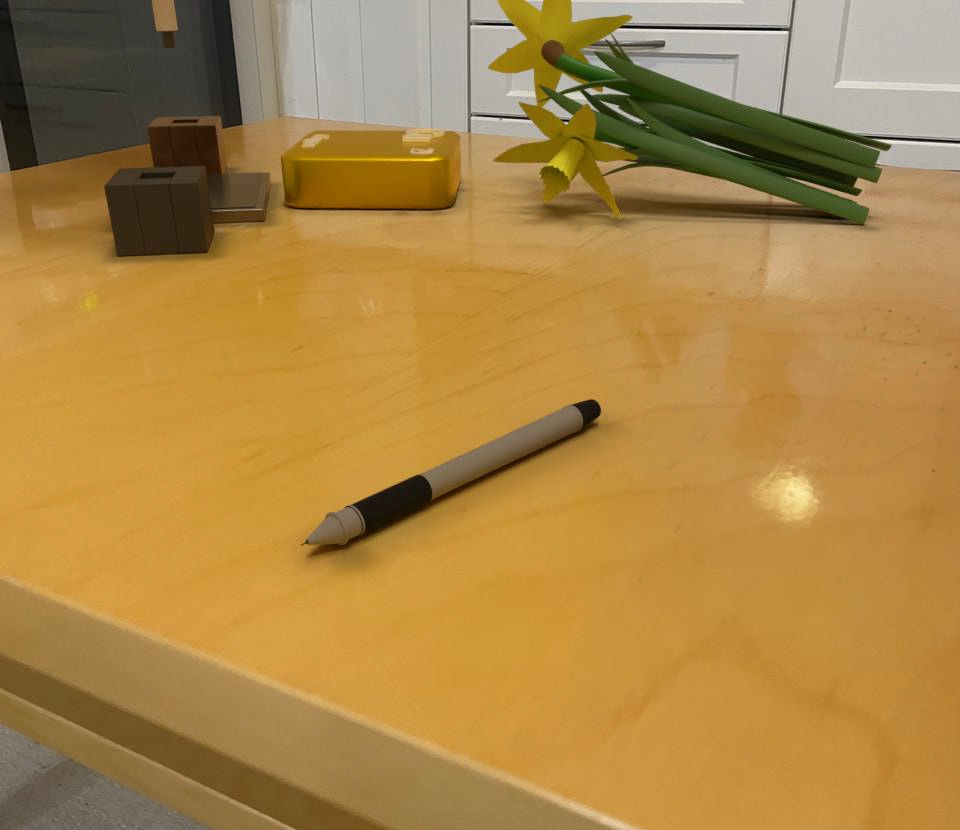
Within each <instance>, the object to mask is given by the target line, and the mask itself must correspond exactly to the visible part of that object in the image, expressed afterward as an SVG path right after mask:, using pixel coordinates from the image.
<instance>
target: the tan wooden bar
mask: <svg viewBox="0 0 960 830" xmlns="http://www.w3.org/2000/svg"><path fill="white" fill-rule="evenodd" d="M151 5H152V11H153V12H152V13H153V19H154V24H155V30H156V31H157V32H161V39H162V45H163V48H164V49H174V48H175V49H176V48H177V47H176V40H175V33H174V32H176V31H179V30H178V29H179V28H178V21H177V20H178V19H177V13H176V7H175V1H174V0H151Z"/></svg>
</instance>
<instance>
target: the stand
mask: <svg viewBox="0 0 960 830" xmlns="http://www.w3.org/2000/svg"><path fill="white" fill-rule="evenodd" d="M146 130H147V135H148V142H149V149H150V152H151V159H152V166H153V167H188V166H205V167H206V172H207V174H226V170H227V168H228V165H227V164H228V162H227V155H226V147H225V139H224V132H223V123H222V117H221V115H206V116H205V115H204V116H196V115H195V116H162V117H161V116H160V117H159V116H158V117H155V118H154V119H153V120H152V121H151V122H150V124H148V126H147V127H146Z"/></svg>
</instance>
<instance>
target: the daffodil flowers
mask: <svg viewBox="0 0 960 830" xmlns="http://www.w3.org/2000/svg"><path fill="white" fill-rule="evenodd" d="M497 3H498V5H499V6H500V9H501V10H502V11H503V13H504V15H505V16H506V18H507V19H508V20H509V21H510V22H511V24H513V26H514V27H515V28H517V30H519V31H520V33H521V34H522V35H523V36H524V37H525V38H526V39H525V40H522V41H520V42H519V43H517V44H516V45H514V46H512V47H511V48H509V49H508V50H507V51H505V52H504V53H502V54H501V55H498V57H497V58H496V59H495V60H493V61H492V62H491V63H490V64H489V65H488V66H487V69H488V70H490V71H494V72H498V73H502V74H520V73H523V72H526V71H530V70H533V84H534V94H535V99H536V105H535V104H529V103H525V102H522V101H518V105H519V107H520V108H521V110H522V111H523V112H524V114H525V115H526V117H528V118H529V119H530V121H531V122H532V123H533V124H534V125H535V127H536V128H537V129H538V130H539V131H540V132H541V133H542V134H543V135H544V137H546V138H548V139H545V140H543V141H535V142H527V143H522V144H521V143H520V144H518V145H516V146H513V147H510V148H508V149H506V150H505V151H504V152H502V153H500V154H499V155H498V156H496V157H495V158H494V159H492V161H493V162H495V163H507V164H545V165H543V167H541V168H540V169H539V170H540V172H539V173H538V175H540V177H539V180H542V181H543V185H544V188H543V193H542V201H543V203H544V204H547V203H549V202H550V201H551V200H553V199H554V198H556V197H557V196H558V195H559V194H561V193H562V192H564V193H566V192H567V191H569V189H570V186H571V183H572V181H573V180H574V179H575V178H576V177H577V176H578V174H579V175H580V176H581V177H582V179H583V180H584V181H585V182H586V183H587V185H588V186H590V187H591V189H592V190H594V192H595V193H596V194H597V195H598V196H599V197H601V199H602V200H603V201H604V202H605V203H606V204H607V205H608V206H609V208H610V210H611V212H612V213H613V214H614V216H616V217H617V218H618V219H620V220H622V215H621V213H620V210H619V208H618V206H617V203H616V200H615V198H614V196H613V194H612V191H611V189H610V186H609V184H608V183H607V180H606V178H605V177H606V176H609V175H612V174H615V173H618V172H622V171H625V170H628V169H635V168H644V167H649V168H650V167H654V168H662V169H663V168H665V169H671V170H675V171H676V170H677V171H681V172H686V173H691V174H695V175H700V176H705V177H710V178H714V179H719V180H723V181H727V182H730V183H734V184H736V185H740V186H743V187H746V188H749V189H753V190H755V191H759V192H760V193H761V192H762V193H765V194H768V195H771V196H774V197H777V198H780V199H784V200H787V201H790V202H793V203H796V204H799V205H801V206H805V207H808V208H812V209H814V210H817V211H821V212H823V213H827V214H830V215H833V216H835V217H838V218H839V217H840V218H842V219H846V220H849V221H851V222H854V223H858V224H860V225H863V226H864V225H865V223H866V221H867V218H868V216H869V212H870V207H868V206H864V205H862V204H858V202H857V201H855V200H853V199H850V198H847V197H843V196H840V195H838V194H835V193H832V192H830V191H829V192H828V191H827V190H824V189H820V188H818V187H815V186H811V185H808V184H806V183H809V184H813V185H817V186H820V187H823V188H827V189H830V190H833V191H837V192H840V193H843V194H848V195H851V196H854V197H858V196H860V195H861V193H862V192H863V189H862V188H859V187H855V185H856V183H857V180H858V179H861V180H863V181H866V182H870V183H874V184H878V182H879V180H880V177H881V175H882V172H883V168H882V167H879V166H876V164H877V162H878V160H879V157H880V154H881V151H883V152H887V151H889V150H890V149H891V148H892V146H893V145H892V144H891V143H887V142H883V141H881V140H876V139H873V138H870V137H867V136H863V135H859V134H857V133H852V132H849V131H846V130H842V129H838V128H836V127H832V126H829V125H825V124H821V123H818V122H814V121H809V120H806V119H801V118H797V117H794V116H790V115H786V114H783V113H779V112H774V111H771V110H767V109H763V108H759V107H755V106H751V105H746V104H743V103H741V102H738V101H735V100H732V99H729V98H727V97H723V96H722V95H718V94H716V93H713V92H710V91H708V90H704V89H702V88H699V87H696V86H694V85H690V84H689V83H686V82H683V81H680V80H677V79H675V78H672V77H670V76H667V75H665V74H661V73H659V72H657V71H654V70H651V69H649V68H646V67H643V66H641V65H638V64H635V62H633V60H632V59H631V57H629V55H628V54H627V53H626V51H625V50H624V49H623V48H622V46H621V44H620V43H619V41H618V40H617V39H616V37H615V36H614V35H613V33H614V32H615V31H617V30H618V29H619V28H621V27H623V26H624V25H625V24H627V23H629V22H630V21H632V19H633V18H634V17H633V16H632V15H630V14H621V15H615V16H601V17H594V18H587V19H582V20H577V21H572V20H573V9H572V8H573V7H572V0H542V5H541V10H540V9H538V8H537V7H535V6H534V5H532V4H531V3H529V2H528V1H527V0H497ZM609 35H610V36H611V37H612V39H613V41H614V43H615V45H616V46H617V47H616V46H615V45H614V44H613V43H612V42H611V41H609V40H608V39H606V38H607V36H609ZM603 39H604V42H605V43H606V44H607V46H608V48H609V49H610V50H611V52H612V54H613V55H611V54H608V53H605V52H602V51H596V50H594V51H593V54H594V55H595V56H596V57H597V58H598V59H599V60H600V61H601V62H602V63H603V64H604V65H605V66H607V67H608V68H609V69H606V68H603V67H600V66H597V65H593V64H591V63H590V61H589V60H588V59H587V57H586V56H585V54H584V53H583V52H582V51H581V50H583V49H585V48H587V47H589V46H591V45H593V44H595V43H597V42H599V41H601V40H603ZM563 74H564V75H565V76H567V77H568V78H570V79H571V80H573V81H575V82H577V83H578V84H579V85H574V86H572V87H568V88H565V89H563V90H561V91H559V92H558V91H556V89H557V88H558V85H559V82H560V80H561V77H562V75H563ZM604 88H606V89H610V90H613V91H615V92H619V93H622V94H619V93H615V94H614V93H603V92H604ZM589 89H592V90H594V91H596V92H598V93H596V94H591V93H589V92H588V91H587V90H589ZM575 92H580V93H581V94H582V96H583V97H584V98H585V99H586V101H588V102H589V103H585V104H582V103H580V102H578V101H577V100H574V99H572V98H570V97H568V96H567V95H566V94H570V93H571V94H572V93H575ZM550 100H552V101H553V102H555V104H556V105H558V106H559V107H560V108H561V109H563V110H565V111H566V112H567V113H569V114H570V115H571V118H570V119H569V121H568V122H567V123H565V122H564V121H563V120H562V119H561V118H560V117H558V116H557V115H556V114H554V112H553V111H550V110H548V109H546V108H544V106H546V104H547V103H548V102H549V101H550ZM607 104H610V105H614V106H618V107H617V108H618V109H619V110H620V111H622V112H624V113H625V114H627V115H630V116H631V117H634V118H636V119H638V120H640V121H641V122H642V123H644V124H641V123H640V122H637V121H635V120H633V119H632V118H629V117H627V116H626V115H623V114H622V113H620V112H618V111H617V110H614V109H613V108H611V107H610V106H609V105H607ZM591 106H592V107H593V108H594V109H593V108H592V107H591ZM595 109H596V110H595ZM705 142H706V143H705ZM707 143H708V144H707ZM709 144H712V145H709ZM614 145H616V146H614ZM713 145H715V146H713ZM617 146H618V147H617ZM720 147H721V148H720ZM618 161H619V162H620V161H624V162H631V163H628V164H626V165H622V166H620V167H617V168H613V169H612V170H610V171H607V172H606V173H602V171H601V169H600V167H599V165H598V164H597V162H602V163H609V162H618ZM800 181H802V182H800ZM803 182H806V183H803Z"/></svg>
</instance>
